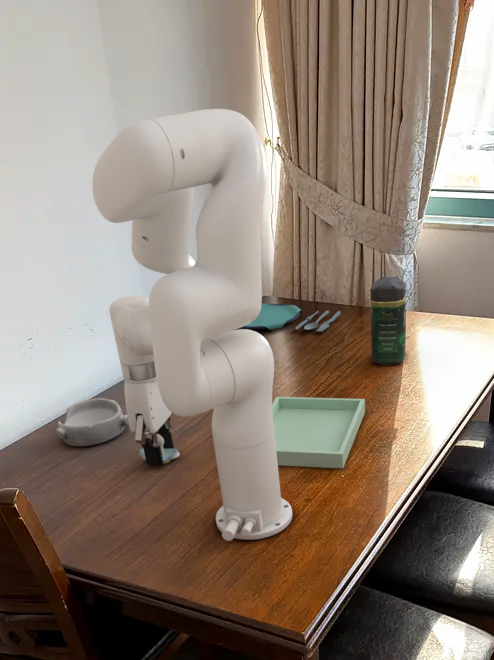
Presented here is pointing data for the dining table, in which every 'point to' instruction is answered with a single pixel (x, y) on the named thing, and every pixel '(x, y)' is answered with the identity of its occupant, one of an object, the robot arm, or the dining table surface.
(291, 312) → the cutlery set
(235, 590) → the dining table surface
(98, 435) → the dish
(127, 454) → the dining table surface
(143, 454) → the pacifier
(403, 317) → the coffee jar
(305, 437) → the tray
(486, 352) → the dining table surface
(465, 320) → the dining table surface
